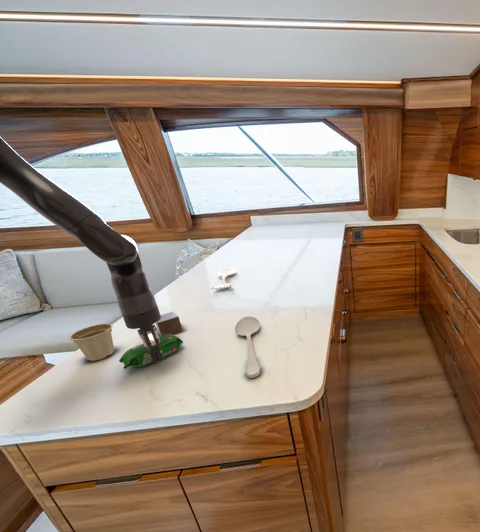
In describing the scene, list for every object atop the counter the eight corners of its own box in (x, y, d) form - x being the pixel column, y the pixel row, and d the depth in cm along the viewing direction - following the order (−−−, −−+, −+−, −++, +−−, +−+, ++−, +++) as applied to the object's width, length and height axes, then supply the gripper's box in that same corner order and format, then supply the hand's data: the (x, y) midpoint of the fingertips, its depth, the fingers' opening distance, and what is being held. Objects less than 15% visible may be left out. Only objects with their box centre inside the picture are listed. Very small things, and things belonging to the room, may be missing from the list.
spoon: (235, 325, 108) (233, 319, 107) (259, 319, 112) (257, 313, 111) (239, 387, 80) (237, 379, 79) (271, 376, 83) (269, 369, 82)
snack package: (118, 368, 86) (111, 353, 85) (177, 341, 99) (173, 328, 97) (128, 377, 83) (121, 361, 81) (188, 348, 96) (184, 334, 94)
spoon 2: (211, 294, 135) (209, 287, 134) (219, 273, 163) (217, 267, 162) (233, 291, 139) (231, 284, 138) (237, 270, 167) (236, 264, 165)
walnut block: (162, 338, 101) (157, 322, 99) (158, 332, 105) (153, 317, 103) (182, 331, 106) (178, 316, 104) (178, 325, 109) (174, 311, 107)
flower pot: (76, 357, 92) (65, 333, 89) (116, 343, 99) (107, 320, 96) (83, 368, 87) (72, 343, 84) (125, 352, 94) (116, 328, 91)
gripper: (118, 305, 83) (138, 358, 88) (124, 320, 74) (145, 377, 80) (151, 296, 88) (168, 346, 94) (161, 309, 79) (179, 363, 85)
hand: (158, 360), depth 87 cm, fingers closed
